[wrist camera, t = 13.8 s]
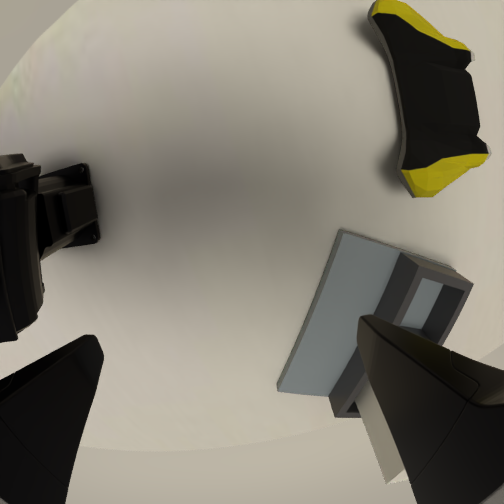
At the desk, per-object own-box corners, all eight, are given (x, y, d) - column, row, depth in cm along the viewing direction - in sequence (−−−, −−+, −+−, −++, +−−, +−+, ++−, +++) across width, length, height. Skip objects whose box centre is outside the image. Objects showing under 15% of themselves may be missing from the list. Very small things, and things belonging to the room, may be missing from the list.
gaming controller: (376, 192, 20) (464, 185, 20) (412, 205, 15) (505, 196, 15) (345, 15, 16) (439, 33, 15) (370, -15, 10) (474, 16, 10)
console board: (276, 384, 26) (280, 414, 22) (339, 229, 21) (358, 245, 17) (381, 393, 27) (393, 417, 23) (450, 266, 22) (475, 283, 19)
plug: (349, 386, 25) (386, 484, 14) (367, 356, 24) (417, 456, 13) (382, 388, 26) (424, 475, 14) (400, 359, 24) (454, 447, 13)
